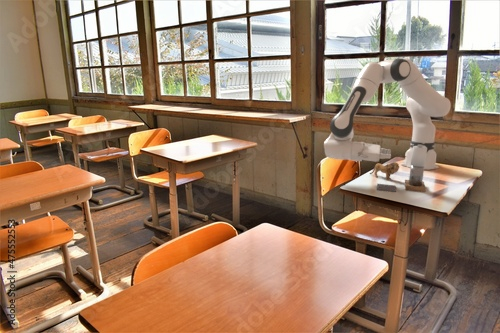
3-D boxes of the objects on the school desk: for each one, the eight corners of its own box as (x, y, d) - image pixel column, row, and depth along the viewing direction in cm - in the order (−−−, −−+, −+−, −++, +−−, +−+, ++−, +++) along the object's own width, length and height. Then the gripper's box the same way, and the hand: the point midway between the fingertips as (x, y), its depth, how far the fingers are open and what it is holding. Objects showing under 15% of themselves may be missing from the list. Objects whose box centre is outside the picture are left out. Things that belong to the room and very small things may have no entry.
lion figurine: (399, 180, 184) (401, 162, 182) (394, 182, 181) (396, 163, 178) (371, 173, 194) (373, 156, 192) (366, 175, 191) (368, 158, 189)
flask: (408, 182, 174) (410, 163, 172) (421, 183, 172) (423, 164, 170) (408, 185, 169) (411, 165, 167) (422, 186, 167) (424, 167, 165)
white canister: (410, 162, 172) (412, 143, 169) (424, 164, 170) (426, 144, 168) (410, 165, 166) (413, 145, 164) (425, 167, 165) (428, 146, 162)
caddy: (404, 183, 178) (405, 175, 177) (423, 185, 176) (424, 177, 175) (405, 190, 169) (406, 181, 168) (425, 192, 167) (426, 183, 166)
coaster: (377, 184, 176) (377, 183, 176) (395, 186, 174) (395, 185, 173) (376, 189, 169) (376, 188, 169) (395, 192, 166) (396, 190, 166)
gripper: (357, 149, 165) (391, 151, 161) (360, 140, 184) (391, 143, 179) (356, 163, 167) (390, 166, 162) (359, 153, 185) (389, 156, 181)
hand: (390, 154), depth 171 cm, fingers open, 8 cm apart
